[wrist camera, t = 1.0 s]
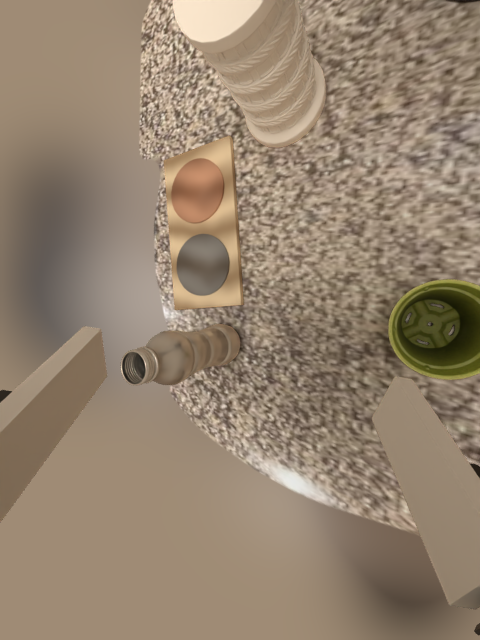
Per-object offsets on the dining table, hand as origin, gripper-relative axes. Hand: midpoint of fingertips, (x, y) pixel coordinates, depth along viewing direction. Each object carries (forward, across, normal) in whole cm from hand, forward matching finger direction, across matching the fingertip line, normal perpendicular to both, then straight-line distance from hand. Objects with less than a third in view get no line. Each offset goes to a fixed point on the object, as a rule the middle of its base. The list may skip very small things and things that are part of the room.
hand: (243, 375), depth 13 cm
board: (+38, -9, -3) cm, 39 cm away
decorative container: (+40, +1, +16) cm, 43 cm away
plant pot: (+21, +22, -6) cm, 31 cm away
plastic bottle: (+28, -2, -18) cm, 34 cm away
